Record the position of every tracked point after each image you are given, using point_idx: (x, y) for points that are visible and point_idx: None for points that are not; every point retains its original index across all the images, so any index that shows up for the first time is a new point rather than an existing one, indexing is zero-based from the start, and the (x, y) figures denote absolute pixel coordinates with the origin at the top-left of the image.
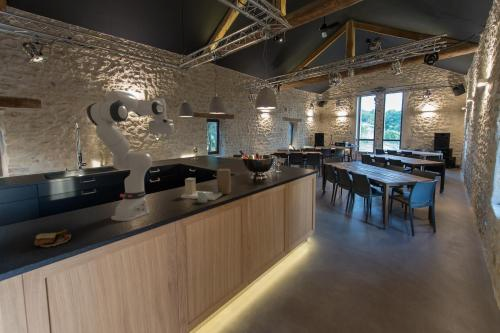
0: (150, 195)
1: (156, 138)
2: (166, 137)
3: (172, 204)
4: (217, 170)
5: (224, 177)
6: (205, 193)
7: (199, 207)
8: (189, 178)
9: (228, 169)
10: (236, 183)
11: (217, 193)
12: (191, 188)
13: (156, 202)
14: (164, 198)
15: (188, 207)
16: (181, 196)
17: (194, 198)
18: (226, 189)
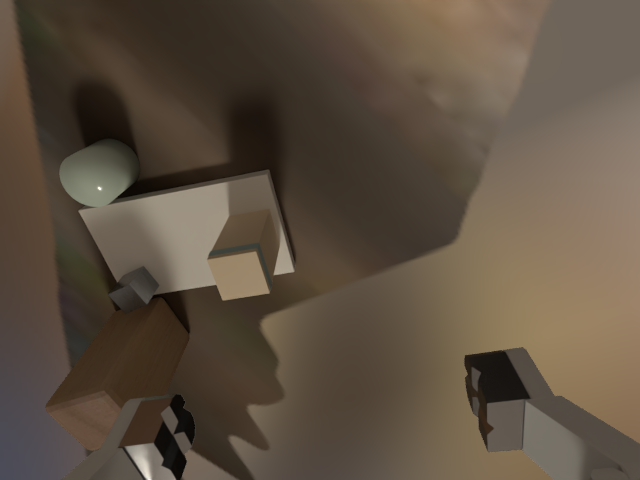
0: (476, 129)
1: (478, 378)
2: (131, 440)
3: (204, 38)
4: (103, 394)
5: (84, 367)
6: (61, 174)
7: (33, 65)
8: (246, 278)
9: (72, 433)
10: (232, 456)
11: (125, 275)
12: (225, 230)
13: (322, 24)
14: (345, 116)
15: (79, 35)
16: (266, 172)
17: (190, 185)
18: (110, 323)
